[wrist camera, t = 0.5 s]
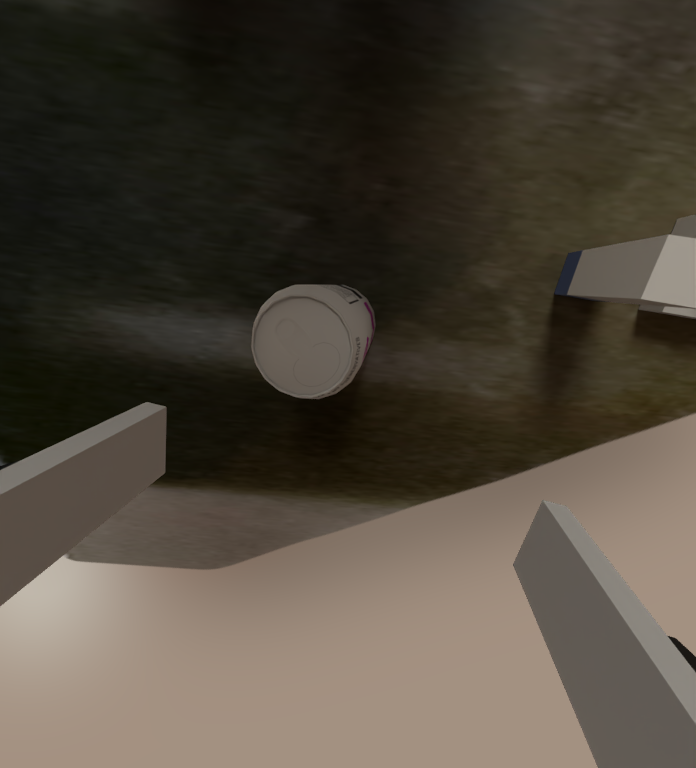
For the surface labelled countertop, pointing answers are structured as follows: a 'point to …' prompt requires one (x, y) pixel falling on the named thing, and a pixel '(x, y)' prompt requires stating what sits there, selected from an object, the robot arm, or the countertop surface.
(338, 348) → the supplement can
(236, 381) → the countertop surface
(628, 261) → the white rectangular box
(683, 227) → the housing
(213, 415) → the countertop surface
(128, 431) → the robot arm
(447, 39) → the countertop surface
